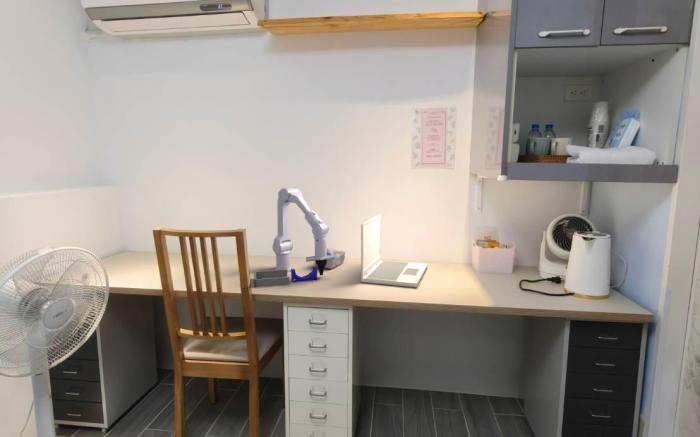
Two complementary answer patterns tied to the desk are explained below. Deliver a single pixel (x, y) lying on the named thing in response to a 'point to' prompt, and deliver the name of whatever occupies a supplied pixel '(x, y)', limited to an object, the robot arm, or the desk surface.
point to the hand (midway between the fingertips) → (321, 274)
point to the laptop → (384, 270)
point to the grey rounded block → (339, 258)
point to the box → (270, 281)
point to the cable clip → (309, 277)
